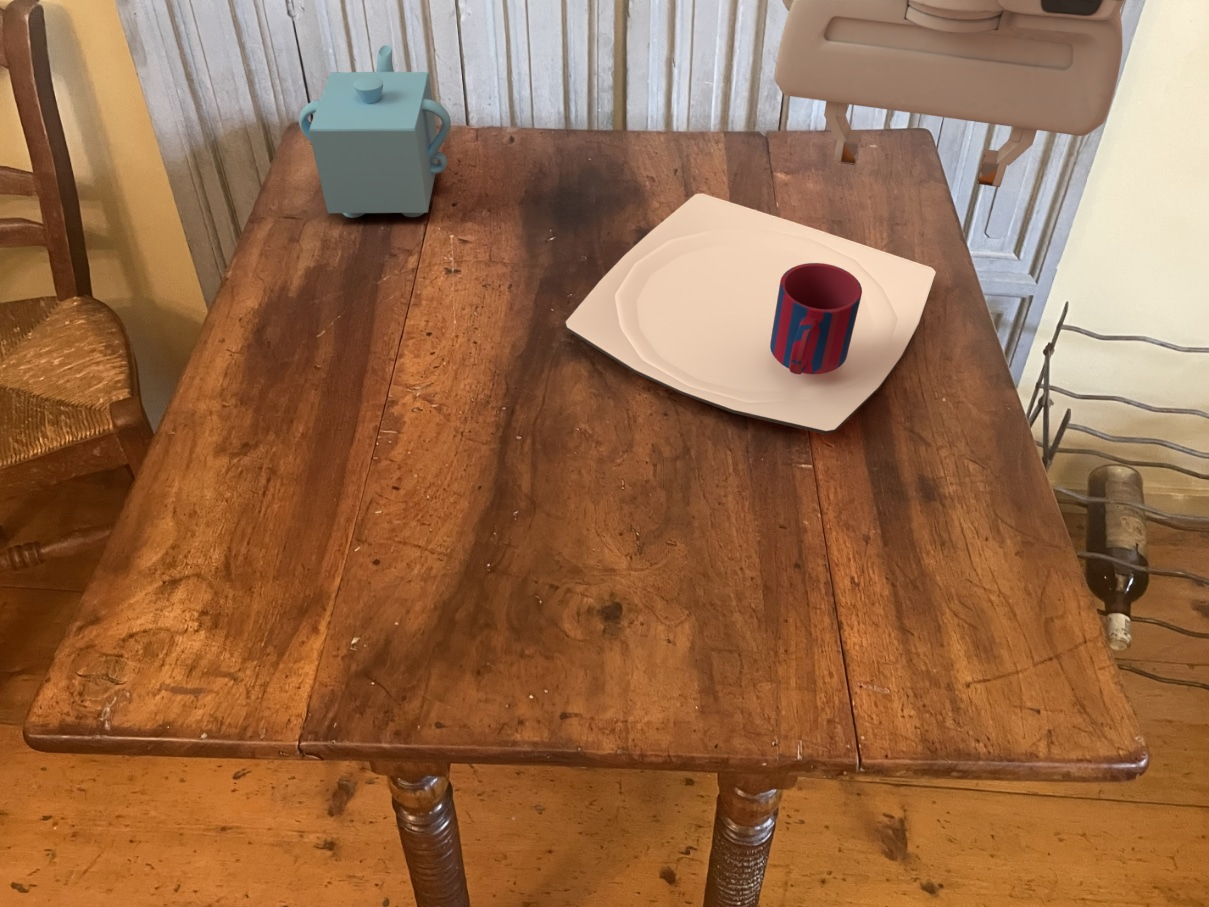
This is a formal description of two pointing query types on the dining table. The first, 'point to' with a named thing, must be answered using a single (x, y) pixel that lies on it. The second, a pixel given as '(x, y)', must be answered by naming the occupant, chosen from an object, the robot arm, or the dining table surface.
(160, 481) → the dining table surface
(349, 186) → the teapot
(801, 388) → the plate
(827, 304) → the mug
